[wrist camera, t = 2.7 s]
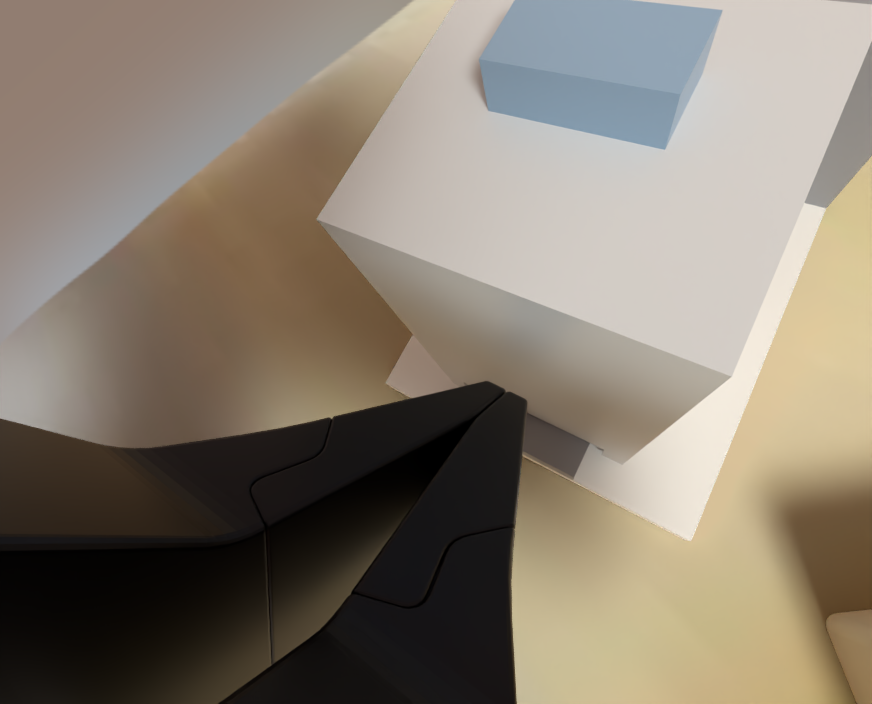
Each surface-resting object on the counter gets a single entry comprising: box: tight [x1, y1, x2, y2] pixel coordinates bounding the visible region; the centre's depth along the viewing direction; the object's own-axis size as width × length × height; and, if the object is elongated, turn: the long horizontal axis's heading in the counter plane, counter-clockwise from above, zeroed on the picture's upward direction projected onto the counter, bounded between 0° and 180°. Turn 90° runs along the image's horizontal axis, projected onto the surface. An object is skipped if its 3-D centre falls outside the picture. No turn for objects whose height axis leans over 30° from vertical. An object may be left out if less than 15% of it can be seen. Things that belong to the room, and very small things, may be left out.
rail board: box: [385, 0, 872, 541], centre depth 13 cm, size 12×10×6 cm
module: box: [316, 0, 872, 465], centre depth 10 cm, size 5×6×10 cm
